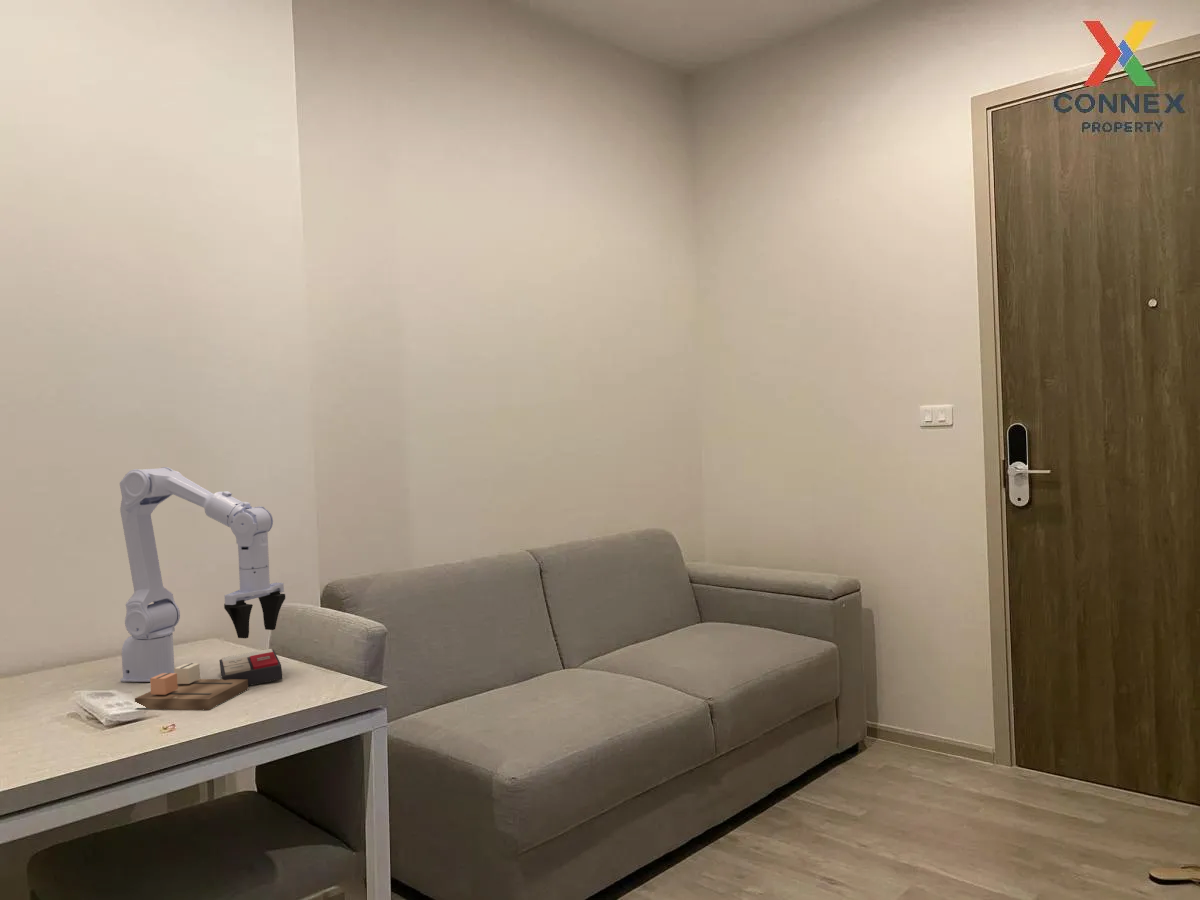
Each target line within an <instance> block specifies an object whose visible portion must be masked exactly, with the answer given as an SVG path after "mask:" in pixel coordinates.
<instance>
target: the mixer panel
mask: <svg viewBox="0 0 1200 900" xmlns="http://www.w3.org/2000/svg"><path fill="white" fill-rule="evenodd" d="M247 689H248V690H249V686H248V679H229V680H223V679H222V678H200V679H198V680H196V681H194V682H192V683H190V684H178V689H177V690H174V691H172V692H170V693H168V694H166V695H158V694H151V690H150V691H148V692H146V693H144V694H141V695H139V696H136V697H134V703H135V702H137V703H139V704H141V705H143V706H145V707H146V708H149V709H148V710H174V711H175V710H176V711H177V710H179V711H210V710H212V709H214V708H215V706H216V705H218V704H220V703H221V704H223V703H225V702H227V701H229V700H231V699H232V697H233V698H235V697H237V696H239V695H240V694H239V693H241V692H242V693H244V692H246V691H248V690H247ZM245 690H246V691H245ZM243 691H244V692H243ZM242 693H241V694H242ZM238 694H239V695H238ZM236 695H237V696H236ZM234 696H235V697H234ZM230 698H231V699H230ZM228 699H229V700H228ZM226 700H227V701H226ZM224 701H225V702H224ZM222 702H223V703H222ZM221 704H220V705H221ZM218 706H219V705H218ZM213 707H214V708H213ZM216 707H217V706H216ZM211 708H212V709H211ZM203 709H204V710H203ZM209 709H210V710H209Z"/></svg>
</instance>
